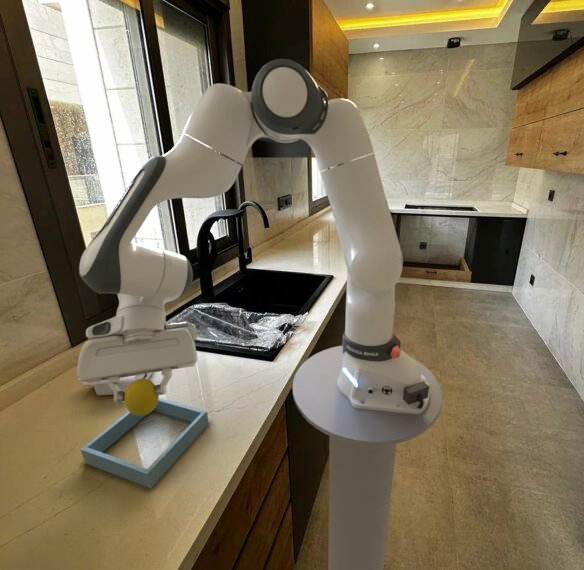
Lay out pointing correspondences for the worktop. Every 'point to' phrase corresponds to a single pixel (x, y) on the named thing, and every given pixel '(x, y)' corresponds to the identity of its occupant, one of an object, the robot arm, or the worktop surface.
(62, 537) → the worktop surface
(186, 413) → the blue bin
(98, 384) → the charger
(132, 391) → the lemon
